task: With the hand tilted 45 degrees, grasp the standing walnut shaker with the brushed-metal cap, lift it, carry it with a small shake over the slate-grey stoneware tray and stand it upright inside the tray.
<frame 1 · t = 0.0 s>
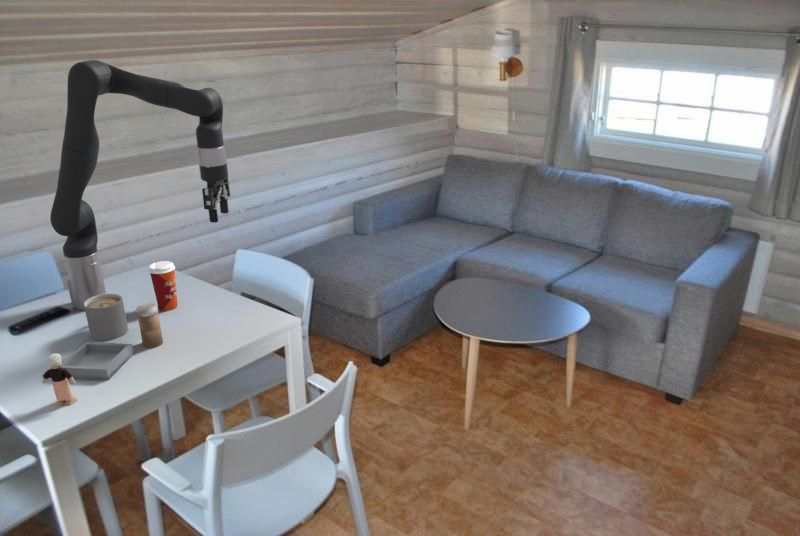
hand: (219, 217, 186), 29 cm above the table, tool pointing down, fingers open, 8 cm apart
coffee mug: (111, 330, 185), on the table
grandmother figurine: (64, 402, 151), on the table
paper cup: (168, 307, 199), on the table
stoneware tray: (97, 365, 166), on the table
walnut shaker: (153, 343, 177), on the table
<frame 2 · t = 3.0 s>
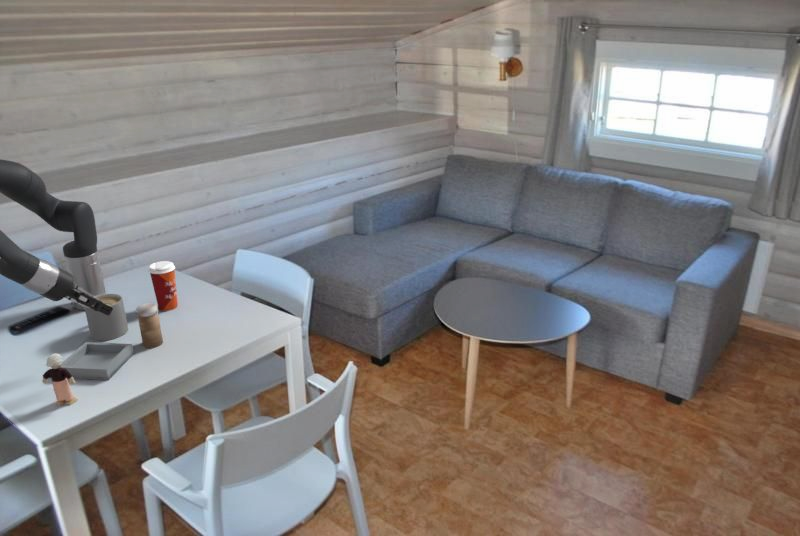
hand: (102, 307, 163), 15 cm above the table, tool tilted 45°, fingers open, 8 cm apart
nothing on the table moved.
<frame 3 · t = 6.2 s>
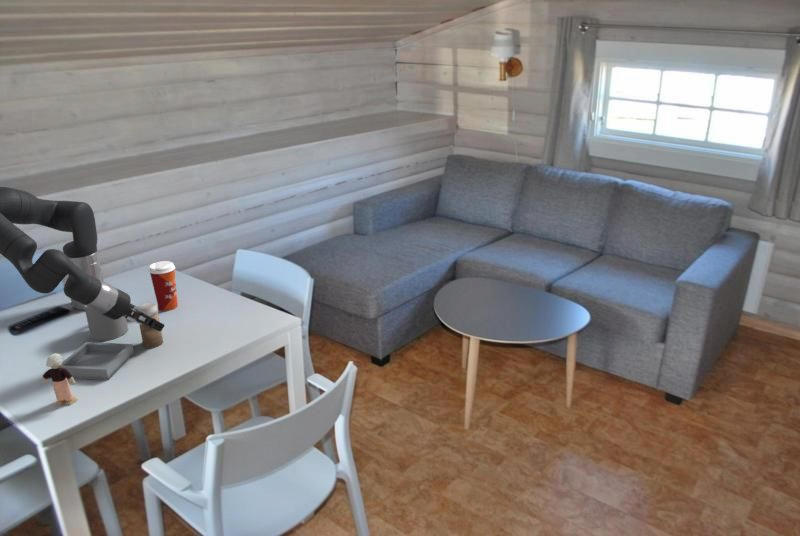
hand: (156, 324, 176), 5 cm above the table, tool tilted 45°, fingers closed on walnut shaker, 5 cm apart
walnut shaker: (153, 343, 177), on the table, touching gripper
everything else where it was.
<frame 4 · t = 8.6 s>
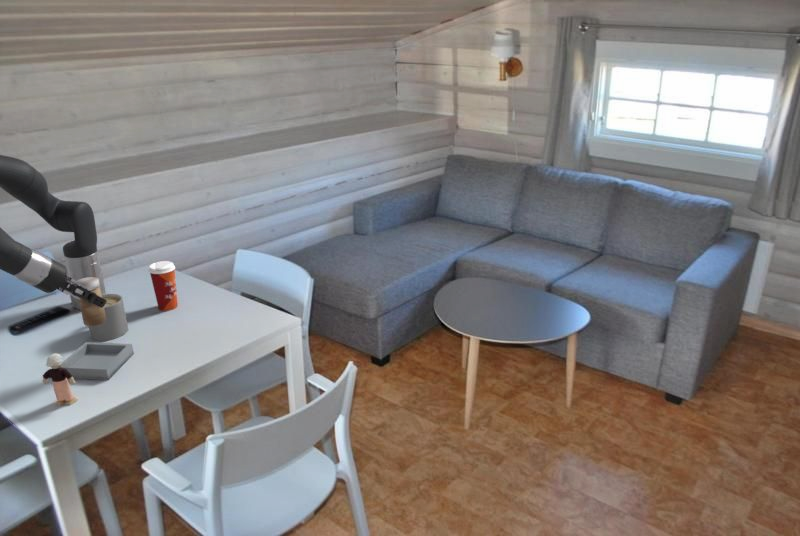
hand: (98, 300, 162), 17 cm above the table, tool tilted 45°, fingers closed on walnut shaker, 5 cm apart
walnut shaker: (95, 321, 162), point 12 cm above the table, touching gripper
everything else where it was.
when the fingers open (7 cm above the table, at t = 11.5 s): walnut shaker drops 1 cm, resting on stoneware tray.
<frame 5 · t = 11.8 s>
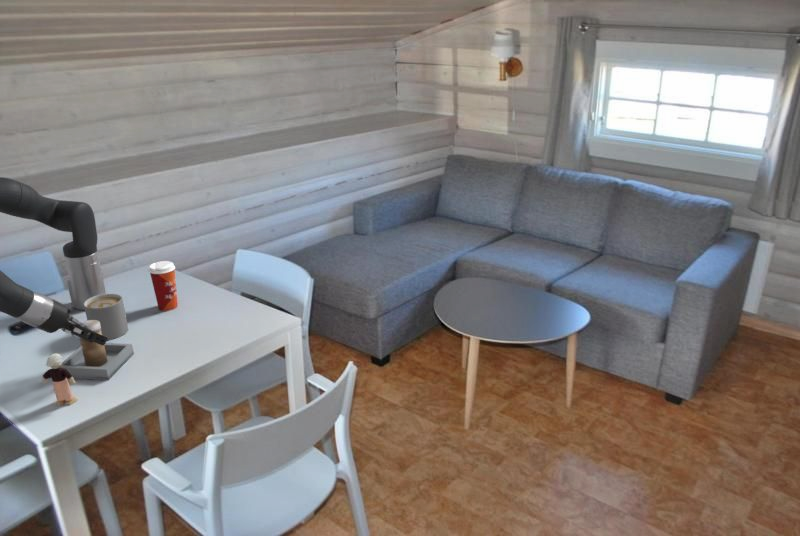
hand: (97, 336, 164), 8 cm above the table, tool tilted 45°, fingers open, 8 cm apart
walnut shaker: (96, 362, 166), point 1 cm above the table, touching stoneware tray
everything else where it was.
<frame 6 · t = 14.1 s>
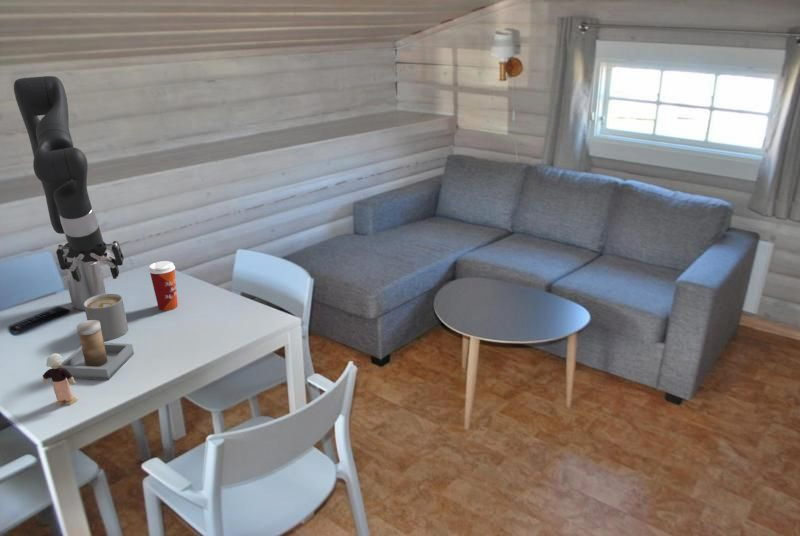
hand: (97, 278, 161), 23 cm above the table, tool tilted 20°, fingers open, 8 cm apart
nothing on the table moved.
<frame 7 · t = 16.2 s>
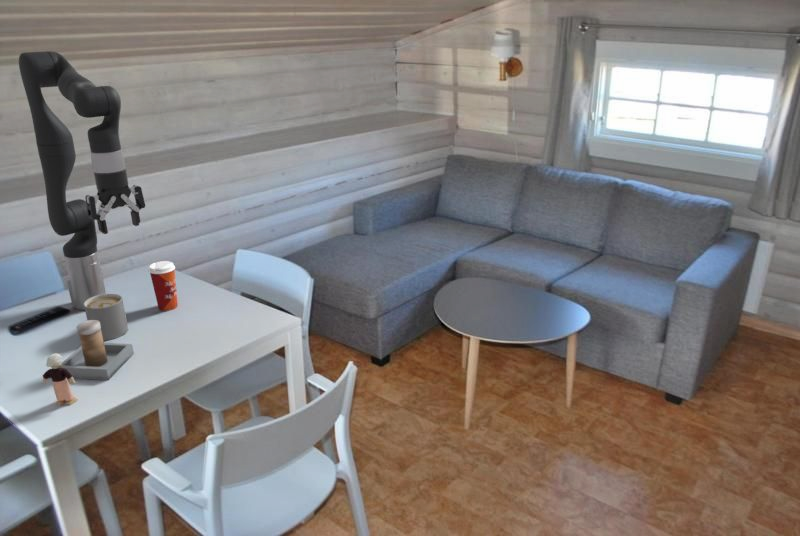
hand: (120, 229, 168), 32 cm above the table, tool pointing down, fingers open, 8 cm apart
nothing on the table moved.
at the end: walnut shaker inside the target area on the stoneware tray (0.2 cm from its centre), point 0.8 cm above the stoneware tray's base; walnut shaker tilted 0°; the gripper is holding nothing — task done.
